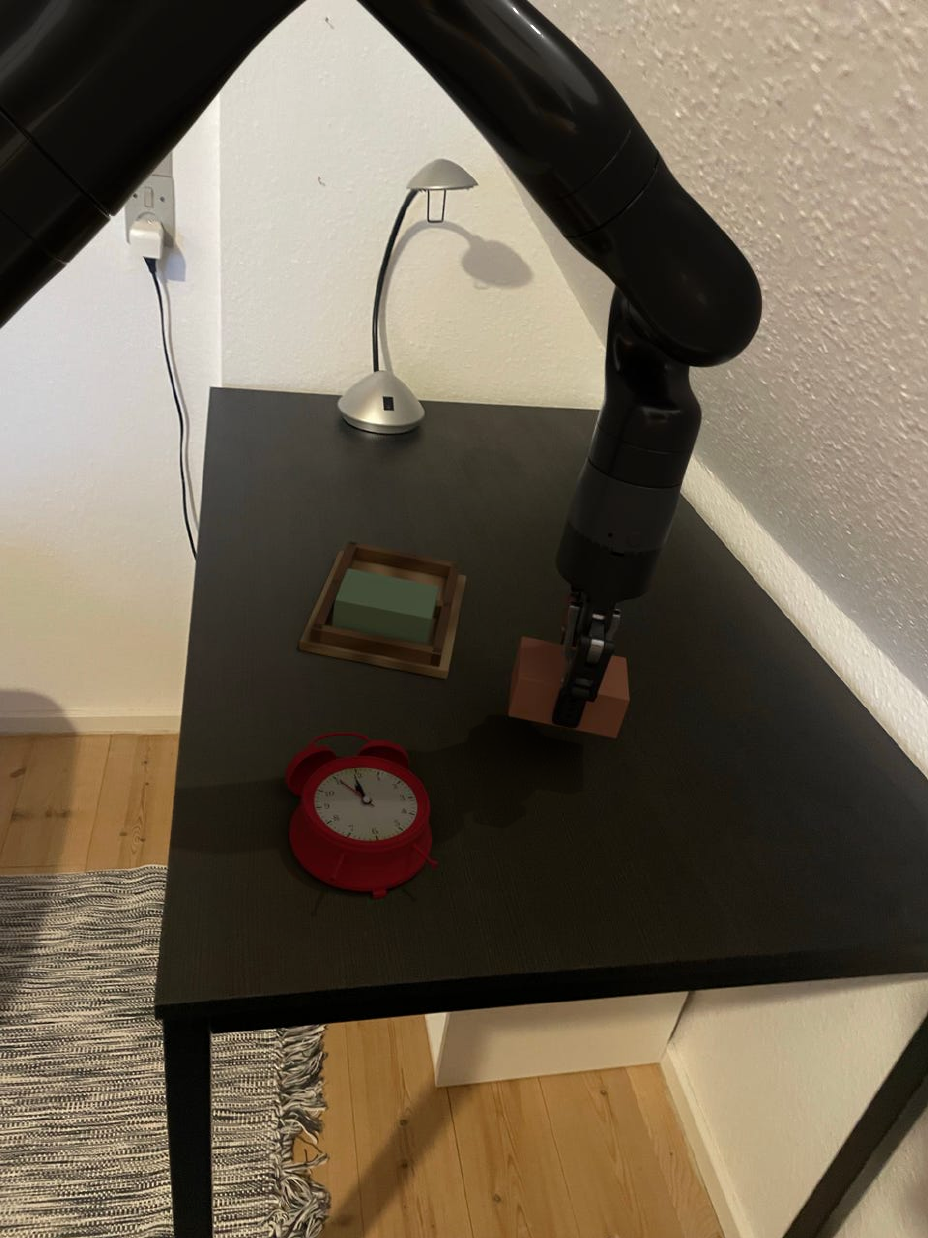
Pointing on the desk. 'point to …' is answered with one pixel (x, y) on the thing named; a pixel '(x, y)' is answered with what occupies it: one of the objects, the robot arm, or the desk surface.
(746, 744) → the desk surface
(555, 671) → the pad terracotta
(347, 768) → the alarm clock
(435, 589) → the pad sage
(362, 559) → the divided wooden tray
